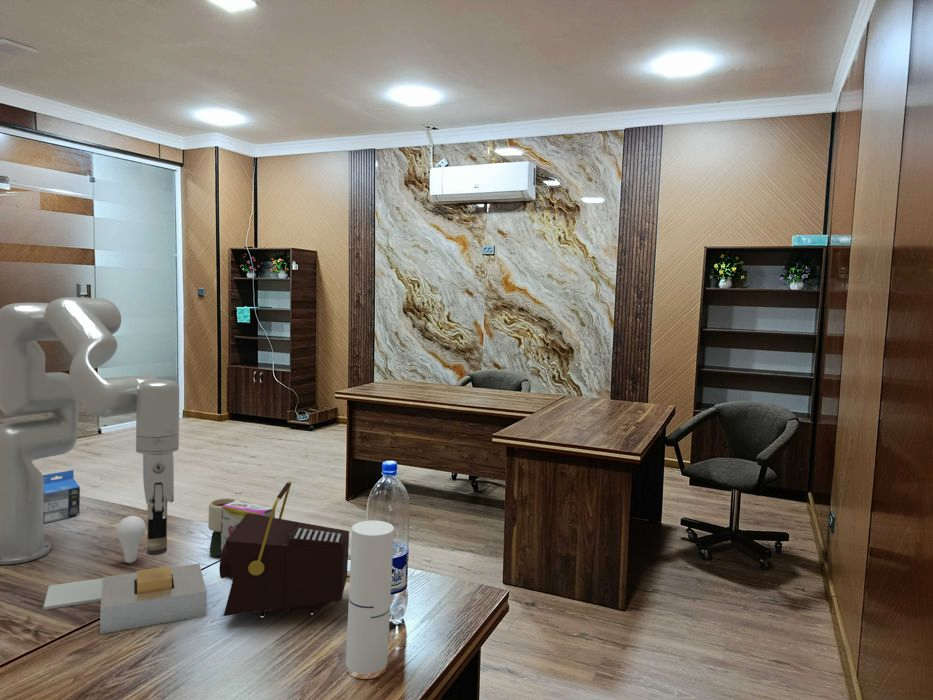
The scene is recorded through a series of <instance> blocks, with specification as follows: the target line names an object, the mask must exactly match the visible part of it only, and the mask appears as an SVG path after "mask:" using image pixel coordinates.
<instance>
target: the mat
mask: <svg viewBox="0 0 933 700" xmlns="http://www.w3.org/2000/svg"><path fill="white" fill-rule="evenodd" d="M102 584H103V577H102V578H95V579H87V580H86V579H85V580H80V581H73V582H66V583H59V584H50V585H48V588H47V589H48V590H47V592H46V596H45V600H44V604H43V607H42V609H43V611H44V610H45V611H47V610H52V609H58V608H59V607H60V608H65V607H71V605H73V606H78V605H84V604H85V605H86V604H91V603H98V602H101V596H102ZM60 608H59V609H60Z"/></svg>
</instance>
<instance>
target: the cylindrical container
mask: <svg viewBox="0 0 933 700" xmlns="http://www.w3.org/2000/svg"><path fill="white" fill-rule="evenodd" d="M394 527H395V526H394V525H393V524H391V523H390V522H386V521H382V520H363V521H359V522H356V523H355V524H353V525H352V526H351V543H350V545H351V546H350V563H349V564H350V565H349V566H350V567H349V585H348V587H349V589H348V609H347V613H348V615H347V629H346V630H347V631H346V633H347V634H346V655H345V657H346V658H345V667H346V666H347V667H348V669H349V670H351V671H353V672H356V673H359V674H370V673H375V672H378V671H380V670H382V669H383V668H384V667H385V666H386V664H387V665H388V657H389V655H388V654H389V637H390V636H389V635H390V633H389V632H390V617H391V616H390V614H391V613H390V612H391V596H392V594H391V593H392V579H393V578H392V574H393V559H394V558H393V555H394V554H393V553H394V539H395V538H394V535H395V533H394V532H395V528H394Z"/></svg>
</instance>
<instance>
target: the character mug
mask: <svg viewBox="0 0 933 700" xmlns="http://www.w3.org/2000/svg"><path fill="white" fill-rule="evenodd" d="M235 500H238V501H241V500H240V499H239V498H234V497H222V498H221V497H220V498H216V499H213V500H210V501H209V503H208V521H207V522H208V529H209V530H210V531H212V534H211V539H210V544H209V555H211V556H213V557H221V523H222V506H223V505H225V504H228V503H230V502H232V501H235Z"/></svg>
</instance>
